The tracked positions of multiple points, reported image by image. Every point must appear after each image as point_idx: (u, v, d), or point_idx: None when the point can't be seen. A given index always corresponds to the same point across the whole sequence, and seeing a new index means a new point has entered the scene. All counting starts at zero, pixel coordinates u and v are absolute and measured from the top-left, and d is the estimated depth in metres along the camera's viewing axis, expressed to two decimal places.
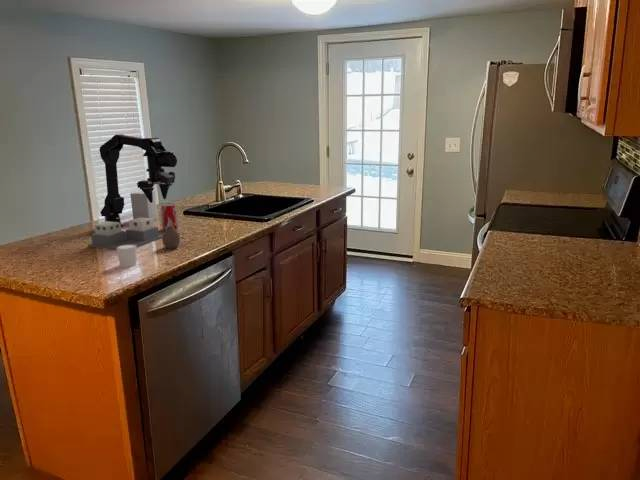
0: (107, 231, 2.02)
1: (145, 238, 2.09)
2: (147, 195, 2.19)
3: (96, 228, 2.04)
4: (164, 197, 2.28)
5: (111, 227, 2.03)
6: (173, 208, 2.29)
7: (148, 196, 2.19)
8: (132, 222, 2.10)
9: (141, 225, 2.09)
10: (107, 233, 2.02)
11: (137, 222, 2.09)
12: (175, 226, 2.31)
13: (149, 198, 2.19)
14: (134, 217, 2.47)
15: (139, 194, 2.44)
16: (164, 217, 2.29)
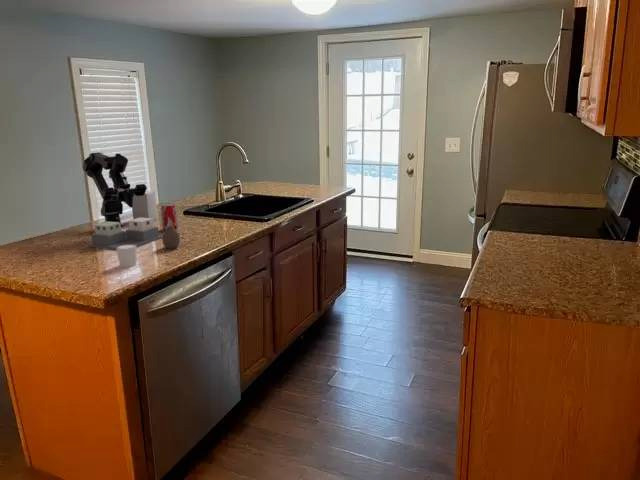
0: (107, 231, 2.02)
1: (145, 238, 2.09)
2: None
3: (96, 228, 2.04)
4: None
5: (111, 227, 2.03)
6: (173, 208, 2.29)
7: None
8: (132, 222, 2.10)
9: (141, 225, 2.09)
10: (107, 233, 2.02)
11: (137, 222, 2.09)
12: (175, 226, 2.31)
13: None
14: (134, 217, 2.47)
15: None
16: (164, 217, 2.29)
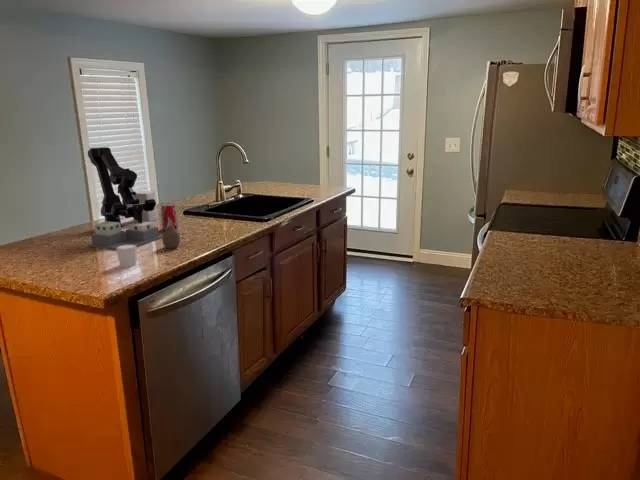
0: (107, 231, 2.02)
1: (145, 238, 2.09)
2: None
3: (96, 228, 2.04)
4: None
5: (111, 227, 2.03)
6: (173, 208, 2.29)
7: None
8: (132, 226, 2.11)
9: (142, 229, 2.09)
10: (107, 233, 2.02)
11: (137, 226, 2.10)
12: (175, 226, 2.31)
13: None
14: None
15: (139, 194, 2.44)
16: (164, 217, 2.29)
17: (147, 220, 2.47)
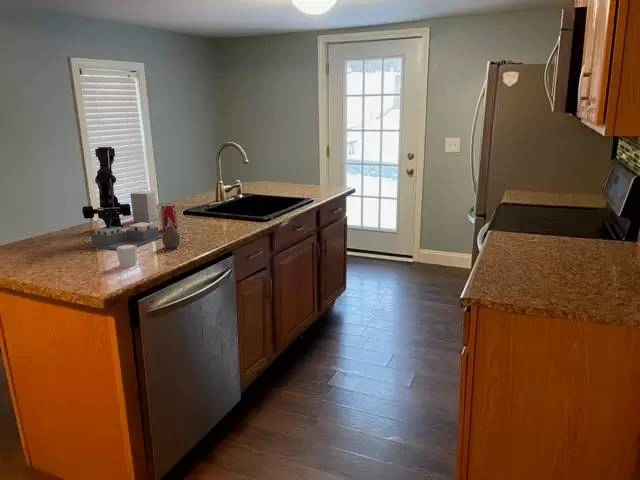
0: None
1: (145, 238, 2.09)
2: (111, 219, 2.08)
3: (97, 233, 2.04)
4: None
5: (112, 232, 2.04)
6: (173, 208, 2.29)
7: (110, 221, 2.08)
8: (133, 227, 2.11)
9: (142, 230, 2.09)
10: None
11: (138, 227, 2.10)
12: (175, 226, 2.31)
13: (110, 223, 2.07)
14: (134, 217, 2.47)
15: (139, 194, 2.44)
16: (164, 217, 2.29)
17: (147, 220, 2.47)
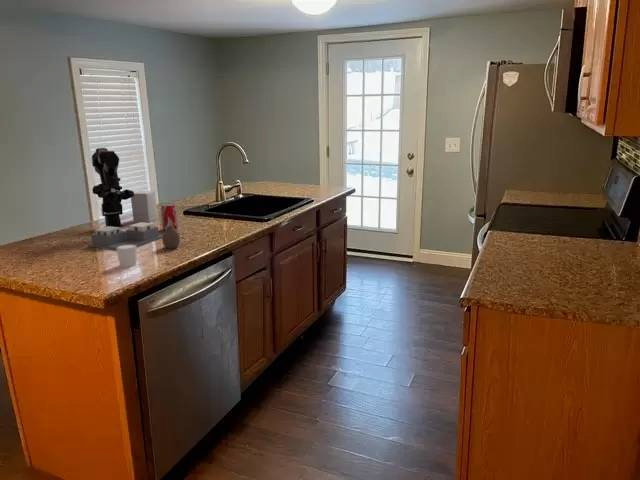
0: None
1: (145, 238, 2.09)
2: None
3: (97, 233, 2.04)
4: None
5: (112, 232, 2.04)
6: (173, 208, 2.29)
7: None
8: (133, 227, 2.11)
9: (142, 230, 2.09)
10: None
11: (138, 227, 2.10)
12: (175, 226, 2.31)
13: None
14: (134, 217, 2.47)
15: (139, 194, 2.44)
16: (164, 217, 2.29)
17: (147, 220, 2.47)
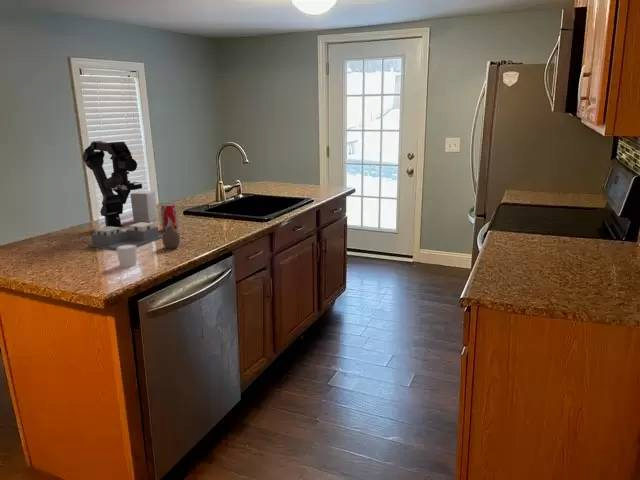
0: None
1: (145, 238, 2.09)
2: None
3: (97, 233, 2.04)
4: None
5: (112, 232, 2.04)
6: (173, 208, 2.29)
7: None
8: (133, 227, 2.11)
9: (142, 230, 2.09)
10: None
11: (138, 227, 2.10)
12: (175, 226, 2.31)
13: None
14: (134, 217, 2.47)
15: (139, 194, 2.44)
16: (164, 217, 2.29)
17: (147, 220, 2.47)
